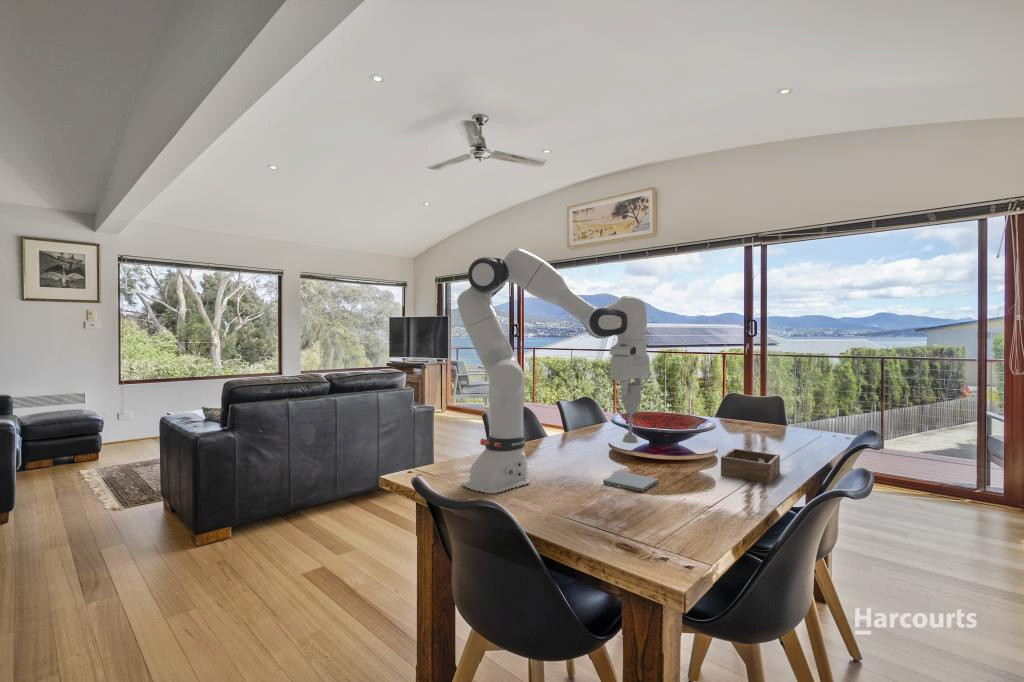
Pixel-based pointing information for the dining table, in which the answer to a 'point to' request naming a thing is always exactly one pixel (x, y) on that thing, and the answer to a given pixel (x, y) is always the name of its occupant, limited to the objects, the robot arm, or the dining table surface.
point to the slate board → (631, 481)
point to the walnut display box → (750, 465)
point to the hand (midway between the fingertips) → (631, 392)
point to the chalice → (631, 408)
